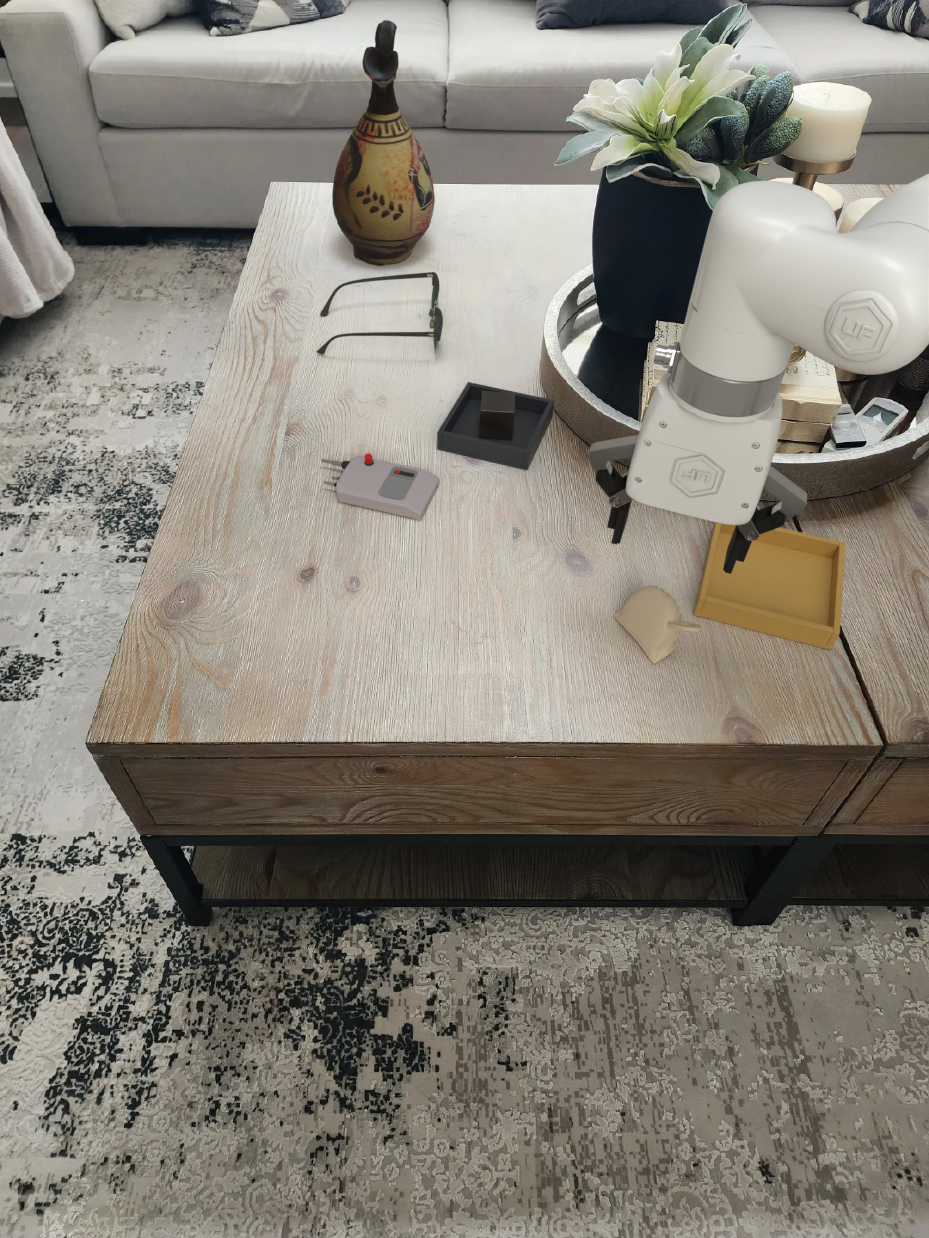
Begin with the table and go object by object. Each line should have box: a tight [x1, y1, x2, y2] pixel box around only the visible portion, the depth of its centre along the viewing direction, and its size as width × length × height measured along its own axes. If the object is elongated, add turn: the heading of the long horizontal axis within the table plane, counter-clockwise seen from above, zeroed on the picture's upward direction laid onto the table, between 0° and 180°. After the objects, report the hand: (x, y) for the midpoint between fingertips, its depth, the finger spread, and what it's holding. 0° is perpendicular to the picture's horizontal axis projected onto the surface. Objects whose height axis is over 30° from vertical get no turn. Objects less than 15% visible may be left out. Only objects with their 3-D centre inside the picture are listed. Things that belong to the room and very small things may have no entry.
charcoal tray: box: [436, 381, 555, 471], centre depth 102 cm, size 11×11×2 cm
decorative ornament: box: [613, 585, 703, 665], centre depth 80 cm, size 4×8×5 cm, turn 26°
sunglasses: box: [316, 271, 444, 355], centre depth 116 cm, size 16×17×5 cm
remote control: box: [320, 452, 440, 521], centre depth 94 cm, size 7×16×3 cm, turn 73°
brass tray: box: [693, 522, 846, 651], centre depth 86 cm, size 13×13×2 cm
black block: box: [479, 391, 515, 440], centre depth 101 cm, size 4×4×4 cm
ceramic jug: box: [331, 19, 436, 266], centre depth 123 cm, size 17×15×30 cm
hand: (672, 548), depth 73 cm, fingers open, 9 cm apart
